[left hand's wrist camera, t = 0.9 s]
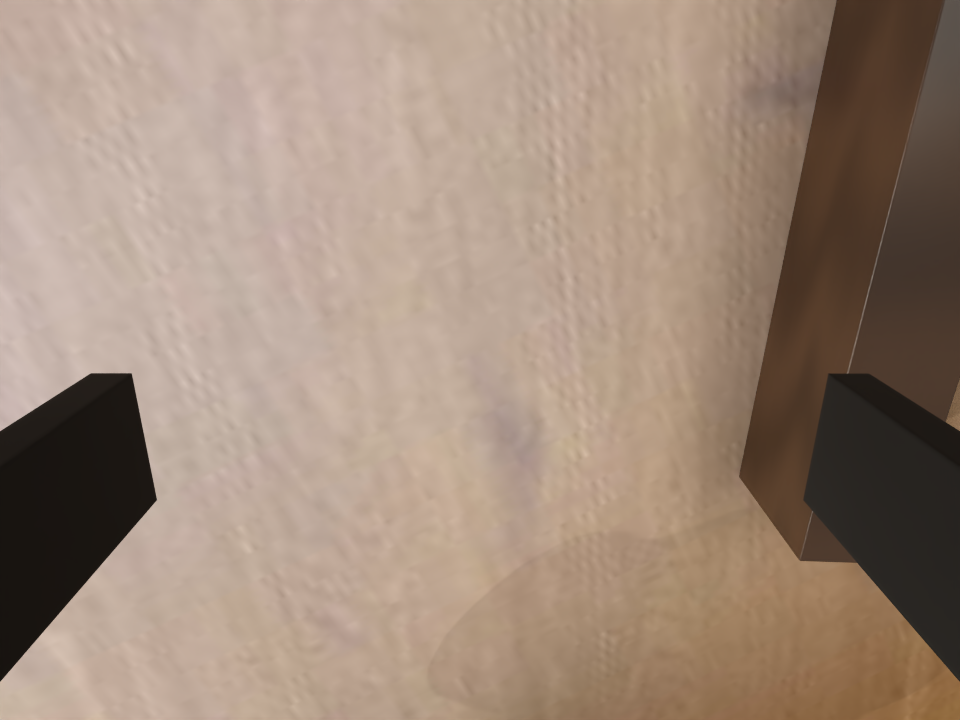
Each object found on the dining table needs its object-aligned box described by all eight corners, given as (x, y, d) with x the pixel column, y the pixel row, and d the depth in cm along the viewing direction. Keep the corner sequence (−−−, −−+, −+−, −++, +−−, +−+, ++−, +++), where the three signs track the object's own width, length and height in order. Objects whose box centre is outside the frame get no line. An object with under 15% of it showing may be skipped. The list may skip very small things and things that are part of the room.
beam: (820, 479, 39) (900, 564, 32) (738, 476, 39) (799, 561, 32) (970, -106, 29) (1143, -186, 21) (858, -111, 29) (992, -193, 21)
